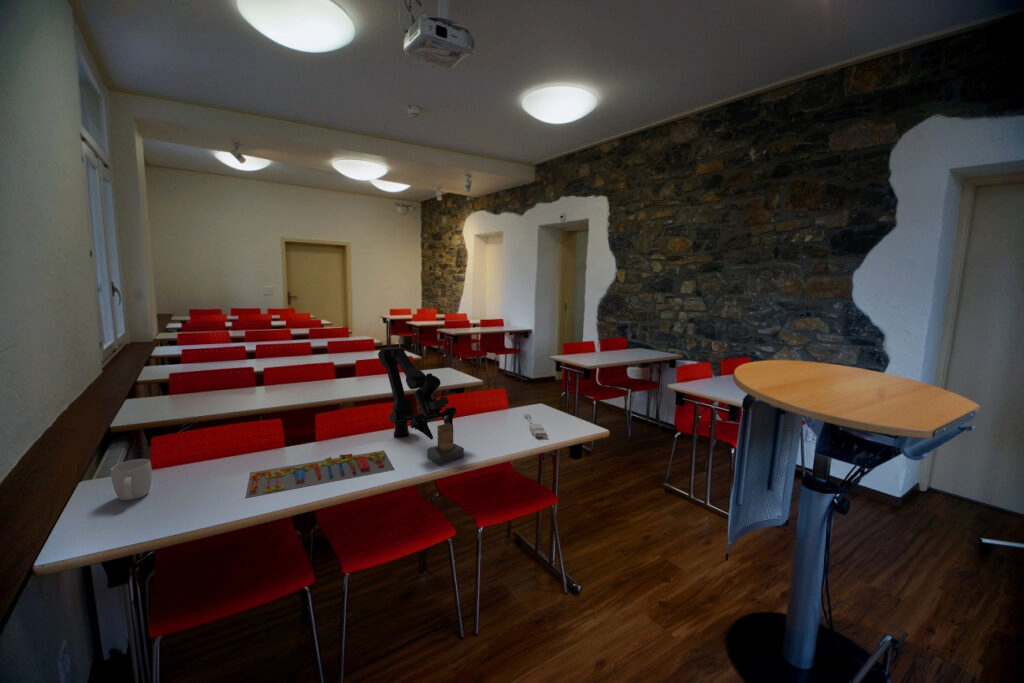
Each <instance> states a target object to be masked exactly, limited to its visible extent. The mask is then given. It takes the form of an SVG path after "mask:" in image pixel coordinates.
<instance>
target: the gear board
mask: <svg viewBox="0 0 1024 683" xmlns="http://www.w3.org/2000/svg"><path fill="white" fill-rule="evenodd" d="M395 469H396V468H394V466H393V464H392V461H391V460H390V458H389V456H388V455H387V453H386V452H385V450H380V451H379V450H377V451H372V452H367V453H360V454H353V453H347V454H339V457H336V458H332V457H330V456H329V457H326V458H324V460H317V461H312V462H311V461H310V462H306V463H300V464H293V465H286V466H282V467H275V468H270V469H268V468H267V469H264V470H256V471H251V472H249V477H248V483H247V488H246V493H245V499H248V498H255V497H259V496H265V495H270V494H277V493H281V492H285V491H291V490H296V489H301V488H307V487H311V486H318V485H322V484H324V485H325V484H328V483H334V482H338V481H342V480H348V479H355V478H361V477H364V476H371V475H377V474H382V473H385V472H390V471H391V472H392V471H395Z"/></svg>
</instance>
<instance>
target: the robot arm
mask: <svg viewBox="0 0 1024 683" xmlns="http://www.w3.org/2000/svg"><path fill="white" fill-rule="evenodd" d="M377 356H378V359H379V360H380V364H381V365H382V367H384V368H385V369H386V372H387V376H388V381H389V385H390V389H391V392H392V396H393V403H392V407H391V408H392V412H391V413H390V414H389V416H388V418H389V422H390V423H392V424H393V425H394V430H393V438H403V437H410V430H409V427H410V429H414V430H415V431H416V430H417V431H419V432H421V434H423V435H424V436H426V437H427V438H429V439H430V440H431V441H432V440H433V439H434V437H433V434H432V432H431V429H430V428H429V425H428V421H431V420H435V419H440V418H442V420H443V423H444V424H447V423H450V424H452V425H453V426H454V423H453V420H454V416H455V415H456V413H458V410H457V408H456V407H455V406H454V405H453V406H447V405H448V404H449V403H450V401H449V398H448V397H447V396H446V395H445V396H442V397H440V399H436V398H434V397H433V395H434V394H435V393H436V391H437V390H438V389H439V387H440V385H441V380H440V378H439V377H437V376H436V375H433V373H424V372H423V371H422V370H420V369H418V368H416V366H415V365H414V363H413V362H412V360H411V359H410V358H409V356H408V355H407V353H406V350H405V348H404V347H387V348H386V347H385V348H381V349H380V350H379V351H378V353H377ZM399 367H400V369H401V370H402V372H403V374H404V375H405V383H406V385H407V387H408V389H409V390H416V391H414V394H413V399H417V402H418V404H419V406H420V408H419V410H420V411H422V412H423V413H419V414H415V409H414V406H413V403H412V402H413V401H412V400H411V399H408V398H407V397H406V394H405V390H404V386H403V381H402V378H401V374H400V371H399ZM443 408H445V409H444V410H443ZM442 410H443V411H442ZM414 414H415V415H414Z"/></svg>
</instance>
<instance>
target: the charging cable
mask: <svg viewBox="0 0 1024 683" xmlns="http://www.w3.org/2000/svg"><path fill="white" fill-rule="evenodd" d="M523 418H525V419H527V420H528V421H529V428H528V429H529V432H530V433H531V435H532V436H533V437H539V438H540V437H541V438H542V437H546V432H545V429H544V427H543V425H542V424H541V423H534V422H533V421H532V419H531V414H530V413H524V414H523Z"/></svg>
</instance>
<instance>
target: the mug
mask: <svg viewBox="0 0 1024 683" xmlns="http://www.w3.org/2000/svg"><path fill="white" fill-rule="evenodd" d="M152 469H153V468H152V463H151V460H150V459H149V458H148V459H147V458H137V459H130V460H126V461H122V462H119V463H117V464H115V465H114V466H112V467H111V469H110V475H111V476H110V477H111V483H112V487H113V489H114V492H115V495H116V497H117V498H118V499H119V500H120V501H125V502H126V501H127V502H128V501H133V500H137V499H141V498H143V497H145V496H146V495H148V494H149V491H150V490H151V486H152V479H153V477H152V475H153V473H152V472H153V471H152Z"/></svg>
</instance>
